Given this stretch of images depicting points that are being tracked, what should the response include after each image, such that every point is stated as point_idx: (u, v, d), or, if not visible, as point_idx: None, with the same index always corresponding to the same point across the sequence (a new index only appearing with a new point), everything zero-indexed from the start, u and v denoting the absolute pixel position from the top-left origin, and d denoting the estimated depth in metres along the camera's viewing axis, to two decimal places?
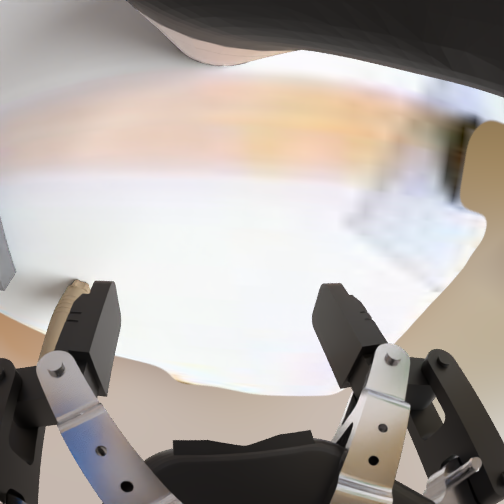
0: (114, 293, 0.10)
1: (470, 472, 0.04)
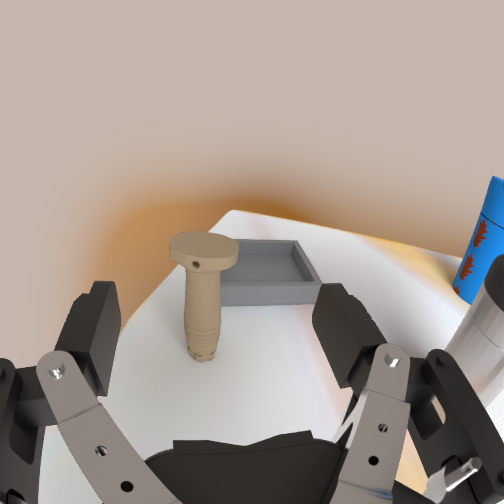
0: (114, 293, 0.10)
1: (470, 472, 0.04)
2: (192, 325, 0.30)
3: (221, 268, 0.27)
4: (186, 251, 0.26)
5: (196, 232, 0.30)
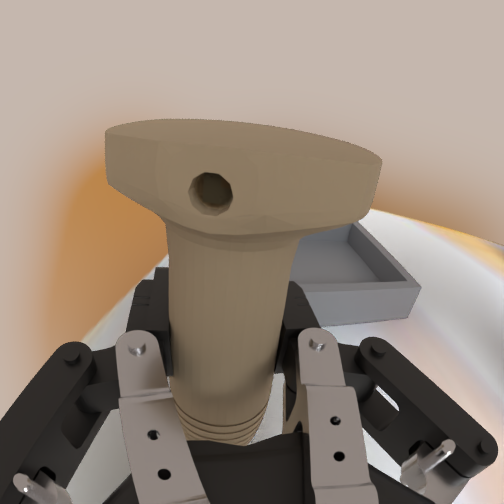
0: None
1: (446, 455, 0.05)
2: (195, 411, 0.09)
3: (335, 217, 0.05)
4: (168, 136, 0.05)
5: (209, 120, 0.09)
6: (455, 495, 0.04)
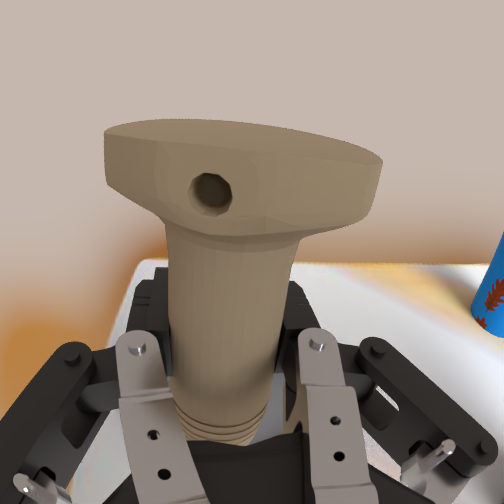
0: None
1: (446, 455, 0.05)
2: (195, 412, 0.09)
3: (335, 218, 0.05)
4: (166, 137, 0.05)
5: (209, 120, 0.09)
6: (455, 495, 0.04)
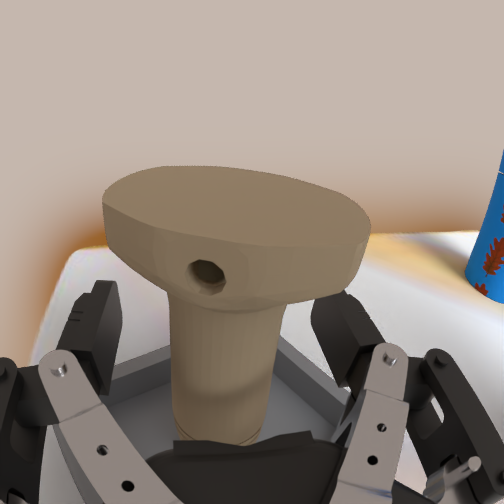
0: (116, 292, 0.10)
1: (469, 471, 0.04)
2: (196, 434, 0.10)
3: (321, 292, 0.06)
4: (163, 216, 0.06)
5: (205, 168, 0.09)
6: None
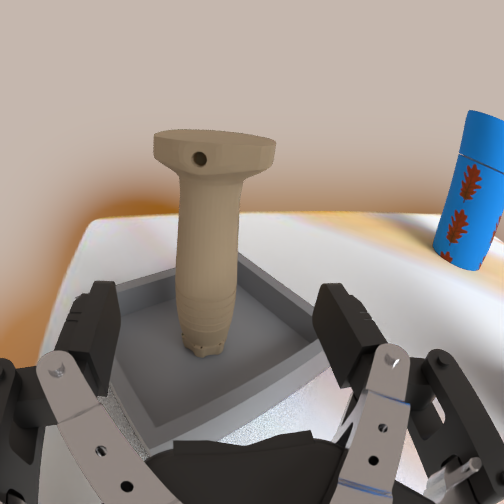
0: (114, 293, 0.10)
1: (470, 472, 0.04)
2: (189, 290, 0.18)
3: (247, 167, 0.14)
4: (183, 138, 0.13)
5: (200, 130, 0.17)
6: None
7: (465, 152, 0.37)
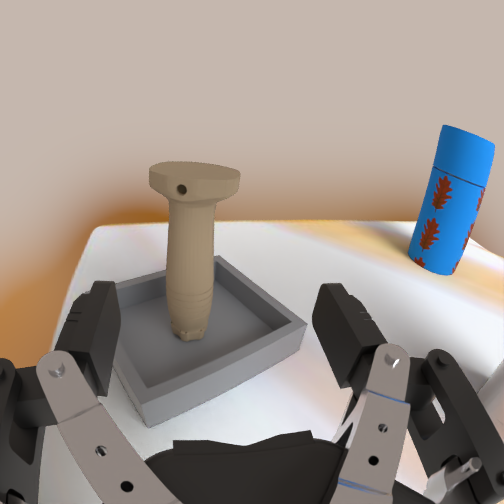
0: (114, 293, 0.10)
1: (470, 472, 0.04)
2: (176, 285, 0.23)
3: (216, 195, 0.19)
4: (170, 173, 0.19)
5: (185, 162, 0.22)
6: None
7: (437, 164, 0.42)
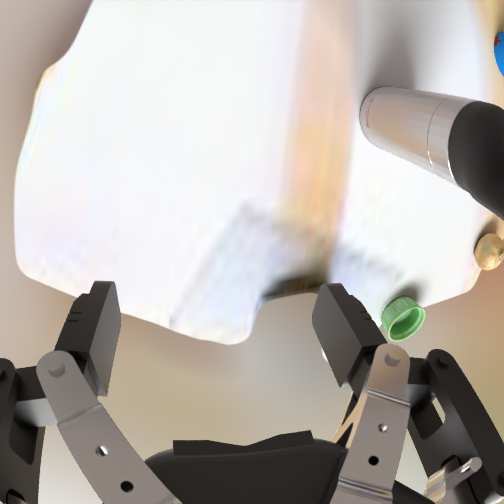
0: (114, 293, 0.10)
1: (470, 472, 0.04)
2: None
3: None
4: None
5: None
6: None
7: None
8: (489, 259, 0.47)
